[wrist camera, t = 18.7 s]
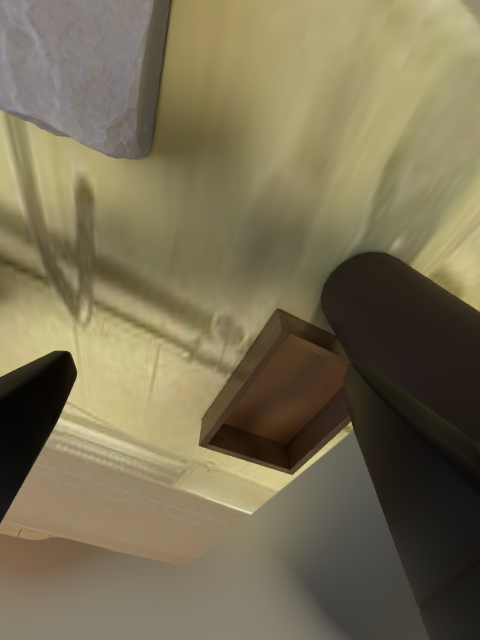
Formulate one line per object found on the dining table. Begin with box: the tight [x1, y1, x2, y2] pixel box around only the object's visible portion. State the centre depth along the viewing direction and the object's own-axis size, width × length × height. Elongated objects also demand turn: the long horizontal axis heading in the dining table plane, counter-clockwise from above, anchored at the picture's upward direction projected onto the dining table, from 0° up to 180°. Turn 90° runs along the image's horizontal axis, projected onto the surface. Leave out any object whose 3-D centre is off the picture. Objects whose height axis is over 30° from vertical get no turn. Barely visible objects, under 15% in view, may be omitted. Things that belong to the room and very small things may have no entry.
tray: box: [199, 308, 351, 475], centre depth 26 cm, size 11×15×3 cm
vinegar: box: [321, 252, 480, 444], centre depth 13 cm, size 7×7×20 cm
